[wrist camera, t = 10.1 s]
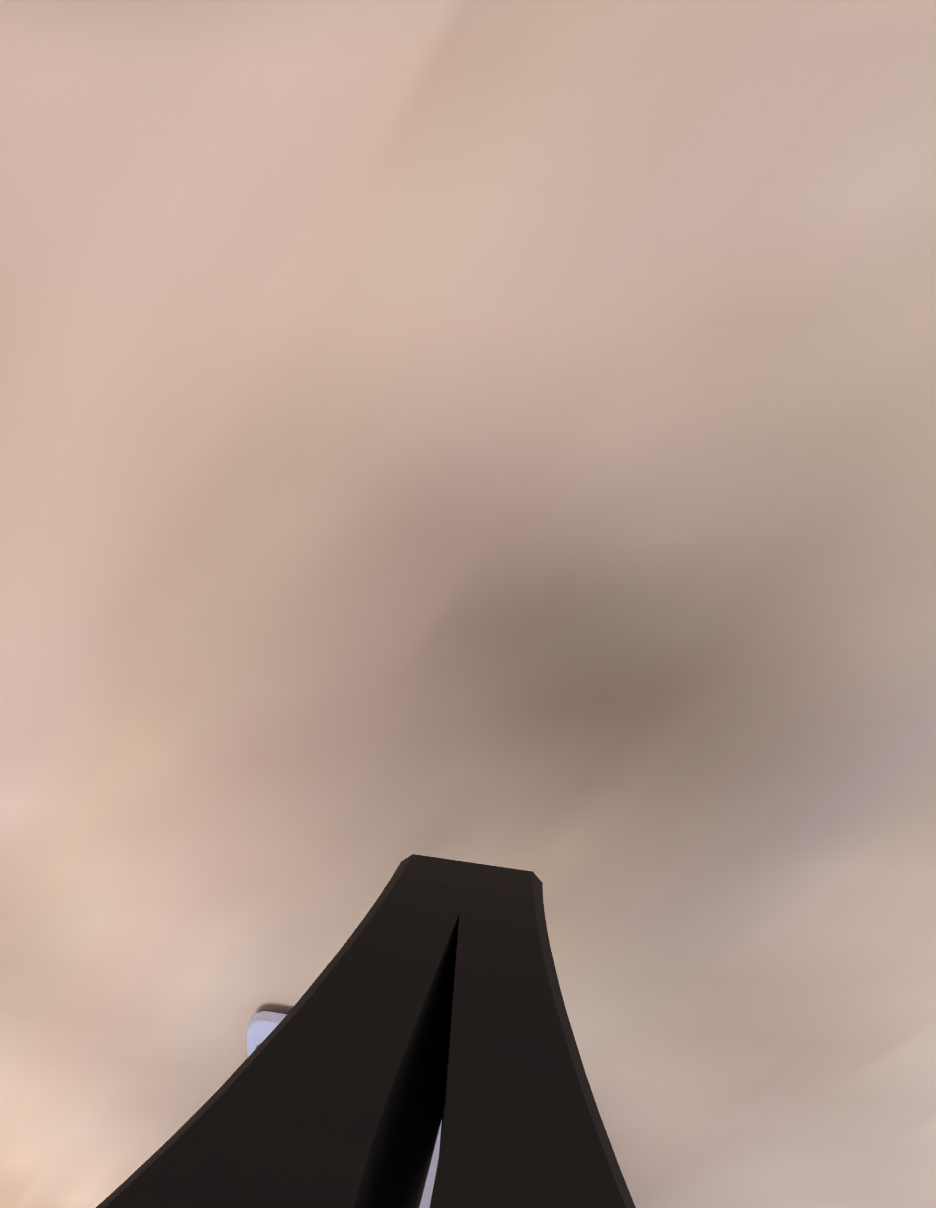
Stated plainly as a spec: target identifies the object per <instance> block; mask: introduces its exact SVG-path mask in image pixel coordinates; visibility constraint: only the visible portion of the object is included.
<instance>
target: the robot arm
mask: <svg viewBox="0 0 936 1208" xmlns="http://www.w3.org/2000/svg"><path fill="white" fill-rule="evenodd" d="M246 1034H247V1059H246V1060H245V1061H244V1063H243V1064H242V1065H241V1066H240V1067H239V1068H238V1069H237V1070H236V1071H235V1072H234V1073H233V1075H232V1076H231V1077H230V1078H229V1079H228V1080H227V1081H226V1082H225V1083H224V1084H223V1085H222V1087H221V1088H220V1089H219V1090H218V1091H217V1092H216V1093H215V1094H214V1095H213V1096H212V1097H211V1098H210V1099H209V1100H208V1101H207V1102H206V1103H205V1104H204V1105H203V1106H202V1107H201V1108H200V1109H199V1110H198V1111H197V1112H196V1113H195V1114H194V1115H193V1116H192V1117H191V1118H190V1119H189V1120H188V1121H187V1122H186V1123H185V1124H184V1125H183V1126H182V1127H181V1128H180V1129H179V1130H178V1131H177V1132H176V1133H175V1134H174V1135H173V1136H172V1137H171V1138H170V1139H169V1140H168V1141H167V1142H166V1143H165V1144H164V1145H163V1146H162V1147H161V1148H160V1149H159V1150H158V1151H156V1152H155V1153H154V1154H153V1155H152V1156H151V1157H150V1158H149V1159H148V1160H147V1161H146V1162H145V1163H144V1164H143V1165H142V1166H141V1167H139V1168H138V1169H137V1170H136V1171H135V1172H134V1173H133V1174H132V1175H131V1176H130V1177H129V1178H128V1179H127V1180H126V1181H125V1182H124V1183H123V1184H121V1185H120V1186H119V1187H118V1188H117V1189H116V1190H115V1191H114V1192H113V1193H112V1194H111V1195H110V1196H108V1197H107V1198H106V1199H105V1200H104V1201H103V1202H102V1203H101V1204H99V1205H98V1206H97V1207H96V1208H636V1207H635V1205H634V1203H633V1200H632V1198H631V1195H630V1193H629V1190H628V1188H627V1185H626V1183H625V1180H624V1178H623V1175H622V1173H621V1170H620V1168H619V1165H618V1162H617V1160H616V1157H615V1154H614V1152H613V1149H612V1146H611V1144H610V1141H609V1138H608V1136H607V1133H606V1130H605V1128H604V1125H603V1122H602V1120H601V1117H600V1114H599V1111H598V1109H597V1106H596V1103H595V1100H594V1097H593V1094H592V1091H591V1088H590V1085H589V1082H588V1080H587V1077H586V1074H585V1071H584V1067H583V1064H582V1061H581V1058H580V1054H579V1051H578V1048H577V1045H576V1041H575V1038H574V1035H573V1032H572V1028H571V1025H570V1022H569V1019H568V1015H567V1012H566V1009H565V1005H564V1001H563V998H562V994H561V990H560V986H559V983H558V978H557V974H556V970H555V965H554V961H553V957H552V952H551V948H550V943H549V938H548V932H547V927H546V920H545V913H544V904H543V891H542V882H541V881H540V880H539V878H538V877H537V876H536V875H535V874H534V873H533V872H531V871H524V870H517V869H510V868H503V867H497V866H490V865H483V864H476V863H469V862H462V861H455V860H449V859H442V858H435V857H428V856H421V855H414V854H412V855H411V856H409V857H408V858H406V859H405V860H403V861H402V862H401V863H400V865H399V866H398V868H397V870H396V871H395V873H394V875H393V876H392V878H391V880H390V881H389V883H388V884H387V886H386V887H385V889H384V890H383V892H382V893H381V895H380V896H379V898H378V899H377V901H376V902H375V904H374V905H373V906H372V908H371V909H370V911H369V912H368V913H367V915H366V916H365V918H364V919H363V920H362V922H361V923H360V924H359V926H358V927H357V928H356V930H355V931H354V932H353V934H352V935H351V936H350V938H349V939H348V940H347V942H346V943H345V944H344V946H343V947H342V948H341V950H340V951H339V952H338V953H337V955H336V956H335V957H334V958H333V959H332V961H331V962H330V963H329V964H328V966H327V967H326V968H325V969H324V970H323V972H322V973H321V974H320V975H319V977H318V978H317V979H316V980H315V981H314V983H313V984H312V985H311V986H310V988H309V989H308V990H307V991H306V993H305V994H304V995H303V996H302V997H301V999H300V1000H299V1001H298V1002H297V1004H296V1005H295V1006H294V1007H293V1008H292V1009H291V1011H290V1012H289V1013H288V1014H282V1013H276V1012H270V1011H262V1012H259V1013H256V1014H255V1015H254V1016H253V1017H252V1018H251V1021H250V1023H249V1025H248V1028H247V1032H246Z"/></svg>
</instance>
